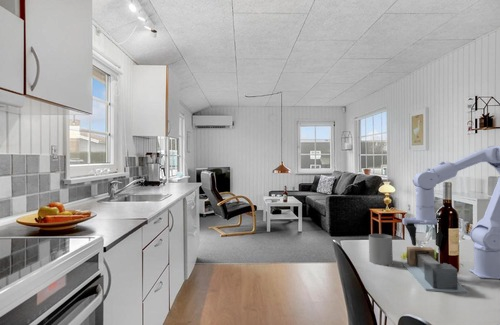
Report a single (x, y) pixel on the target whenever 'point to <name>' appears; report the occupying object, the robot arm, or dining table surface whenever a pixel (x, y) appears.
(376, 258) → the cup
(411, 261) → the socket
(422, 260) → the bar
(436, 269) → the sleeve
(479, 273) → the robot arm
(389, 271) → the dining table surface
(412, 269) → the board
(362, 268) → the dining table surface
